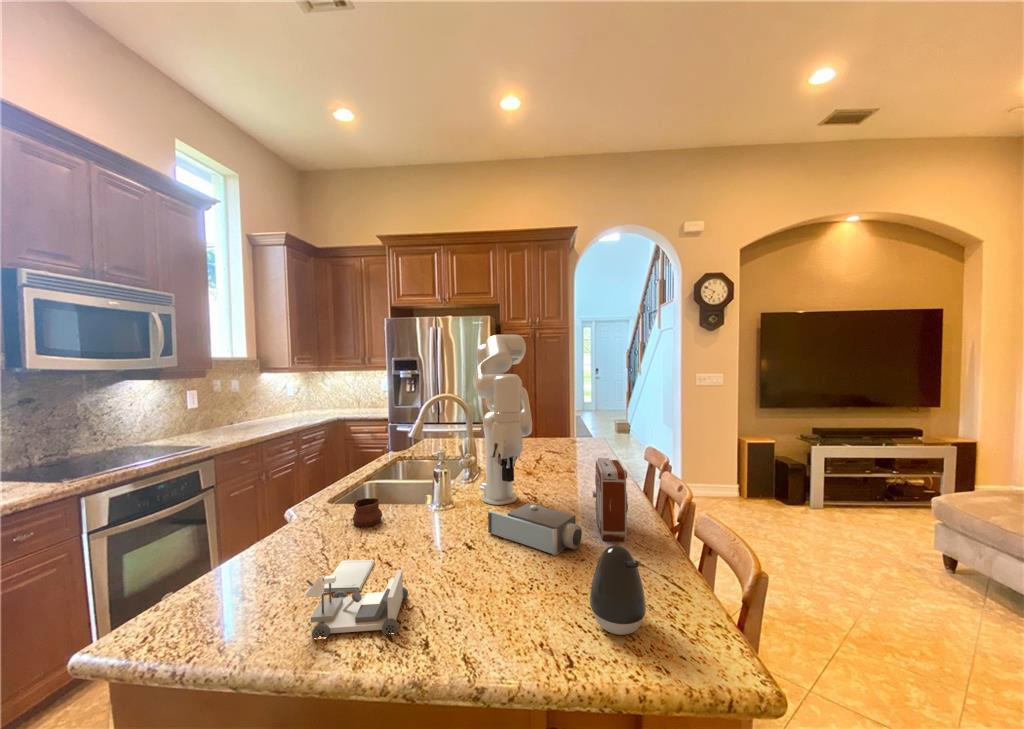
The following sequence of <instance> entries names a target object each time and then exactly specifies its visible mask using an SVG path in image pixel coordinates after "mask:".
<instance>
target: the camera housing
mask: <svg viewBox="0 0 1024 729" xmlns="http://www.w3.org/2000/svg"><path fill="white" fill-rule="evenodd" d="M507 516H511V517H514V518H517V519H521V520H524V521H528V522H531V523H534V524H538V525H541V526H545V527H548V528H552V529H557V555H558V554H559V553H561V552H562V551H564V550H565V549H567V548H569V549H572V550H577V549H578V547H579V546H580V544H581V541H582V536H583V530H582V527H581V526H580V525H579V524H577V523H576V521H577V520H576V519H577V518H576V516H577V515H575V514H571V513H569V512H565V511H560V510H556V509H552V508H549V507H544V506H542V505H538V504H533V503H530V502H527V503H526V504H524V505H522V506H520V507H518V508H516V509H513V510H512V511H510V512H507Z"/></svg>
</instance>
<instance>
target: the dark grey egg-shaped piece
mask: <svg viewBox="0 0 1024 729" xmlns="http://www.w3.org/2000/svg"><path fill="white" fill-rule="evenodd" d="M639 566H640V563H639V561H637V560H635V559H634V557H633V555H632V553H631V552H630V551H629V549H628V548H626V546H624V545H621V544H617V543H616V544H610V545H609V546H607V547H606V548H605V549H604V550H603V551H602V553H601V554H600V556H599V559H598V561H597V564H596V567H595V569H594V573H593V575H592V576H593V577H592V582H591V587H590V594H589V606H590V609H591V610H592V613H593V616H594V618H595V620H596V622H597V623H598V625H599V626H600V627H601V628H602V629H604V631H606V632H609V633H610V634H613V635H618V636H621V635H622V636H625V635H629V634H633V633H634V632H636V631H637V630H638V629H639V627H640V626H641V625H642V622H643V619H644V617H645V616H646V612H647V609H646V608H647V607H646V606H647V605H646V597H645V590H644V585H643V582H642V578H641V574H640V572H639Z"/></svg>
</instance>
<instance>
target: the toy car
mask: <svg viewBox="0 0 1024 729" xmlns="http://www.w3.org/2000/svg"><path fill="white" fill-rule="evenodd" d="M394 576H395V577H390V580H389V581H388V583H387V585H386V587H385V589H384V591H380V592H378V591H377V592H366V593H365V594H363V595H361V593H360V592H356V591H355V592H352V594H351V595H349V594H348V592H345V591H343V590H340V591H337V592H336V593H333V595H332V593H331V583H335V581H336V575H335V576H331V575H326V576H324V577H322V576H321V575H320V576H318V578H316V579H315V581H313V582H311V581H310V580H309V579H307V580H306V583H307V584H308V585H309V588H307V590H306V591H305V592H304V594H303V596H306V597H311V598H312V597H313V598H316V597H321V600H320V601H319V603H318V605H317V606H316V608H315V610H314V612H312V614H311V616H310V624H311V623H318V624H316V625H315V626H314V628H313V630H312V631H311V637H312V639H313V638H318V637H319V636H321V637H328V638H329V637H330V634H339V633H351V632H353V633H355V632H368V631H371V632H372V631H381V633H382V635H384V634H389V633H390V634H391V633H394V634H395V635H397V634H398V631H399V628H400V625H399V622H398V621H397V618H398V616H399V611H400V609H401V606H402V602H403V601H406V600H407V599H408V597H409V591H408V589H407V588H406V587H405V586H403V584H404V583H403V581H404V580H403V569H397V570H396V573H395V575H394ZM328 583H329V593H328V594H329V595H328V598H327V597H326V598H325V596H324V594H325V593H324V585H325V584H328ZM321 622H322V623H321Z"/></svg>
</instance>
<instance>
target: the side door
mask: <svg viewBox="0 0 1024 729" xmlns="http://www.w3.org/2000/svg"><path fill="white" fill-rule="evenodd" d="M487 522H488V524H487V529H488V534H492V535H495V536H498V537H501V538H504V539H507V540H509V541H513V542H516V543H519V544H522V545H525V546H528V547H531V548H535V549H537V550H540V551H542V552H545V553H548V554H550V555H551V554H552V556H555V557H556V556H558V554H557V529H552V528H548V527H545V526H541V525H538V524H534V523H531V522H528V521H524V520H521V519H517V518H514V517H511V516H508V514H503V513H499V512H496V511H493V510H489V511H488V512H487Z"/></svg>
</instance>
